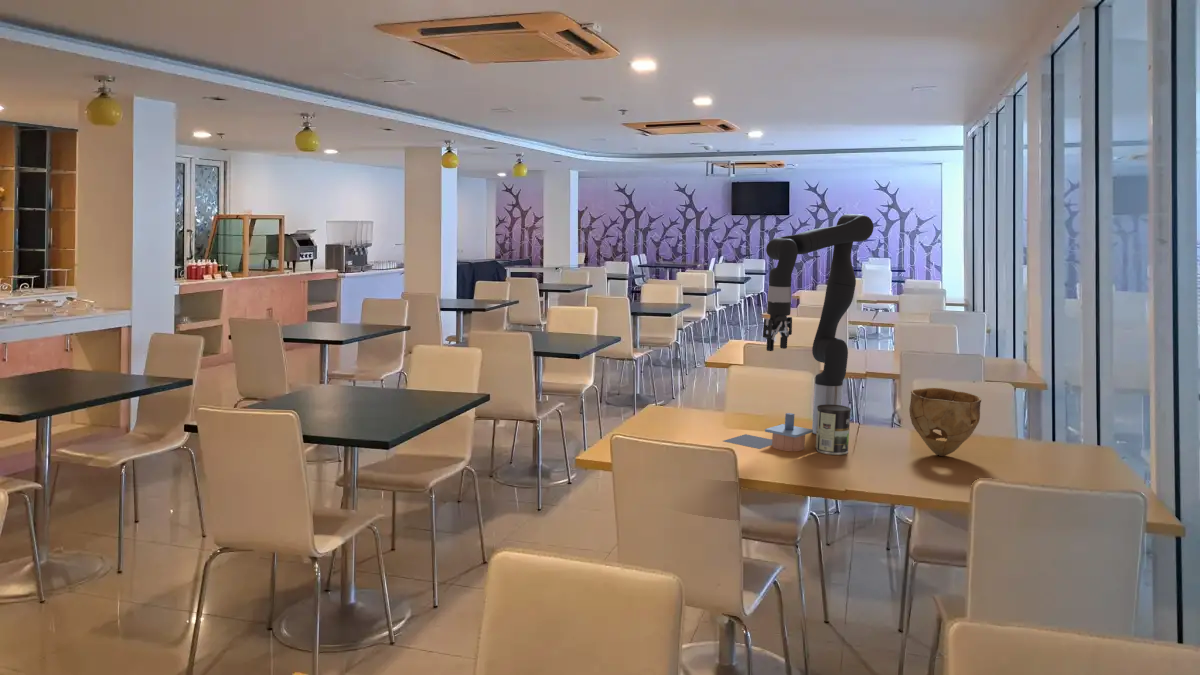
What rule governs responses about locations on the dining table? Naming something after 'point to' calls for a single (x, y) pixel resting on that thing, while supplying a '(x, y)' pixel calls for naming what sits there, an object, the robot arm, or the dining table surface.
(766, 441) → the mat
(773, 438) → the faceted pink cup
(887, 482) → the dining table surface
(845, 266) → the robot arm
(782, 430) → the lid
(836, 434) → the coffee can
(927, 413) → the bowl
